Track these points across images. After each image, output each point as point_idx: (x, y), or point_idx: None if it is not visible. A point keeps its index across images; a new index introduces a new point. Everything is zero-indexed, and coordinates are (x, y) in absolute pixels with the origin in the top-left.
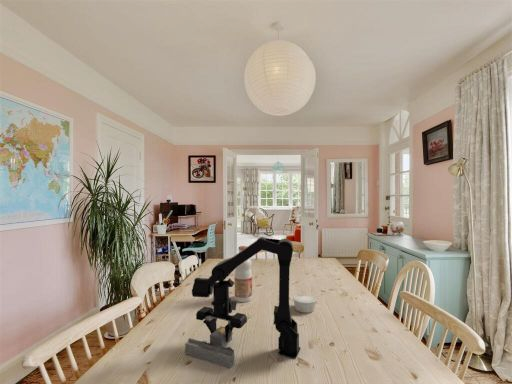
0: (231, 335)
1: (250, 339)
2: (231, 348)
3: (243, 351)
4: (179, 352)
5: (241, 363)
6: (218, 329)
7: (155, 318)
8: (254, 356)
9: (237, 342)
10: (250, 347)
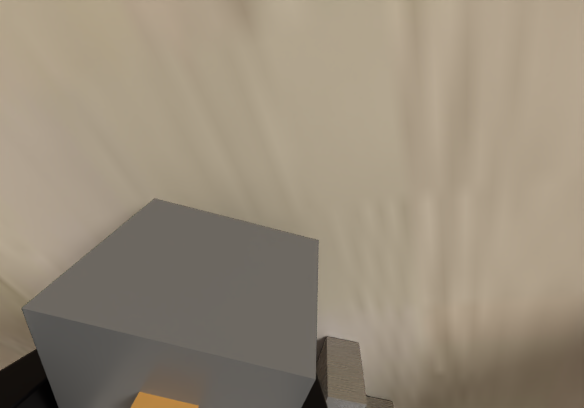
0: (312, 293)
1: (566, 76)
2: (364, 405)
3: (454, 303)
4: (16, 344)
5: (442, 397)
6: (78, 393)
7: None
8: (554, 344)
9: (375, 182)
10: (535, 245)
